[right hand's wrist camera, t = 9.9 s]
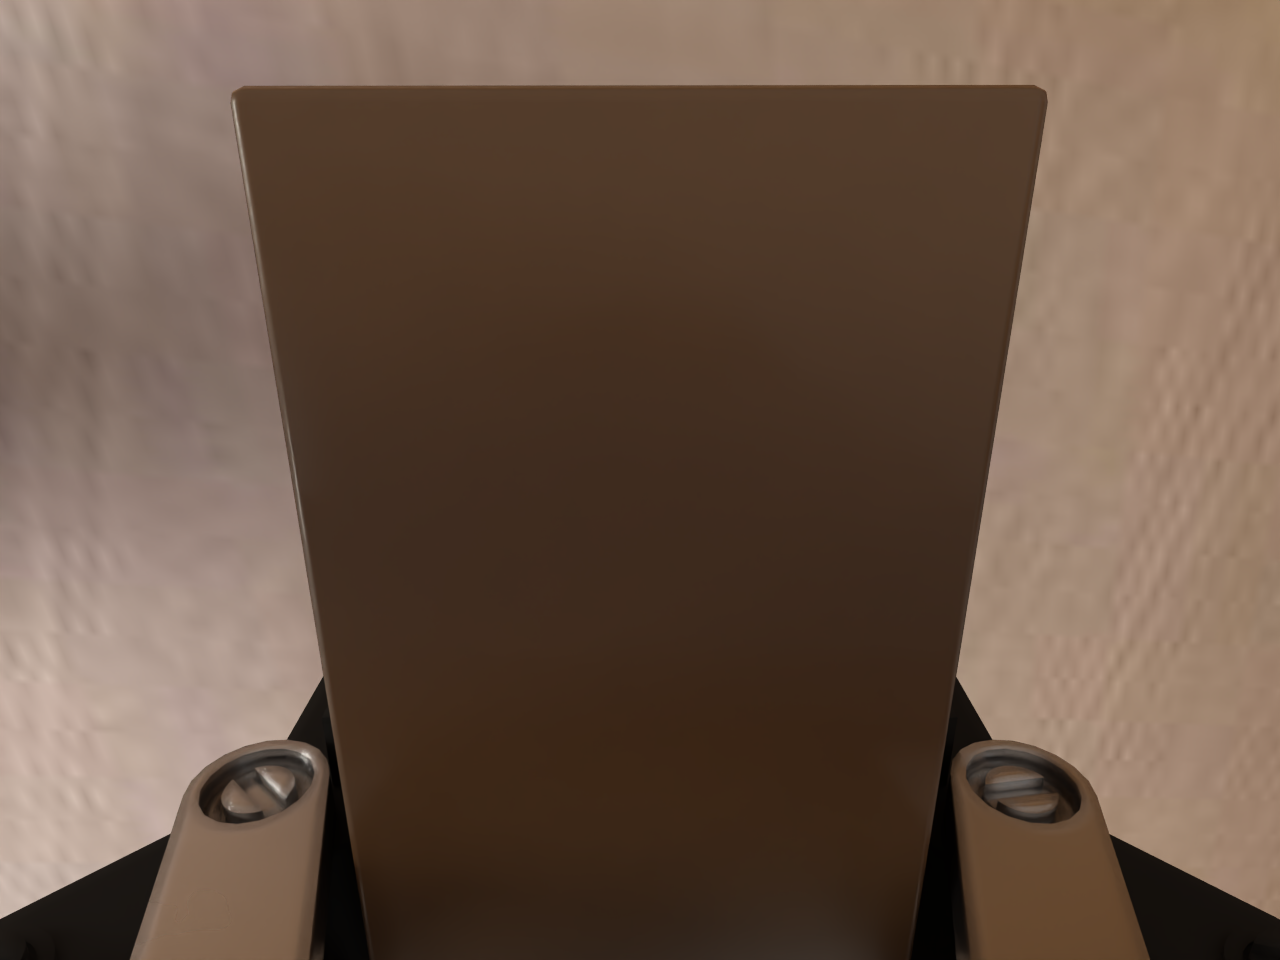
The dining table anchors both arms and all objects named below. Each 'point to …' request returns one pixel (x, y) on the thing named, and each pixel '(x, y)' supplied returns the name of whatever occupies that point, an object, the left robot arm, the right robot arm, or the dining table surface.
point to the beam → (639, 492)
